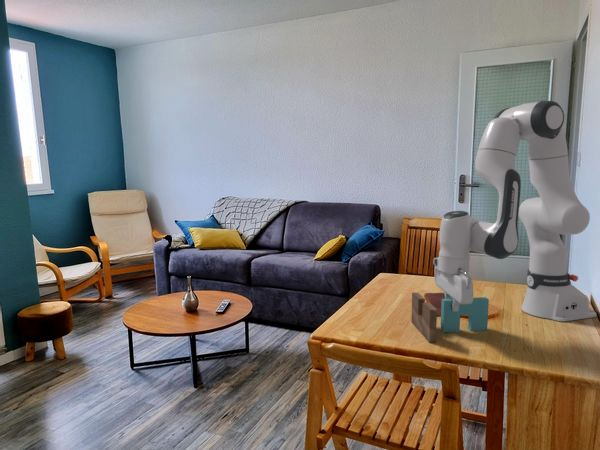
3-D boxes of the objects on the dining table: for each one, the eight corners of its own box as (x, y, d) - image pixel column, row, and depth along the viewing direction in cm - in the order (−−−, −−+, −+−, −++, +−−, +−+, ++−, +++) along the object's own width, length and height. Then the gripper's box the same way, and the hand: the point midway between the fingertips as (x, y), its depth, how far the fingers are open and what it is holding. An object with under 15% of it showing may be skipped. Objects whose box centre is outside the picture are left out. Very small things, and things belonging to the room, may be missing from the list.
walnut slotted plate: (417, 321, 140) (418, 292, 139) (435, 342, 125) (436, 309, 123) (411, 322, 140) (412, 292, 139) (429, 342, 125) (430, 309, 123)
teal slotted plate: (484, 327, 135) (485, 297, 133) (487, 330, 133) (488, 299, 131) (440, 329, 134) (441, 298, 132) (443, 332, 132) (444, 301, 130)
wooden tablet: (461, 320, 143) (461, 315, 143) (430, 318, 145) (430, 313, 145) (448, 294, 169) (449, 290, 169) (422, 293, 171) (422, 289, 171)
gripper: (480, 273, 120) (478, 320, 122) (450, 257, 140) (448, 297, 142) (458, 274, 119) (456, 321, 122) (431, 257, 140) (430, 298, 142)
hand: (452, 308), depth 132 cm, fingers open, 3 cm apart
